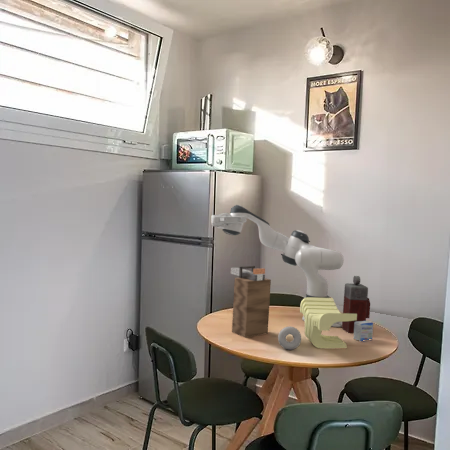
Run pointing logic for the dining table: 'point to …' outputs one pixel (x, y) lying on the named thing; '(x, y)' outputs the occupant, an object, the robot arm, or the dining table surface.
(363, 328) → the medicine box
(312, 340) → the slatted curved stool
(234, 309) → the stand
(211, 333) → the dining table surface
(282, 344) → the donut
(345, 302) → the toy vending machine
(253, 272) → the keeper bolt
